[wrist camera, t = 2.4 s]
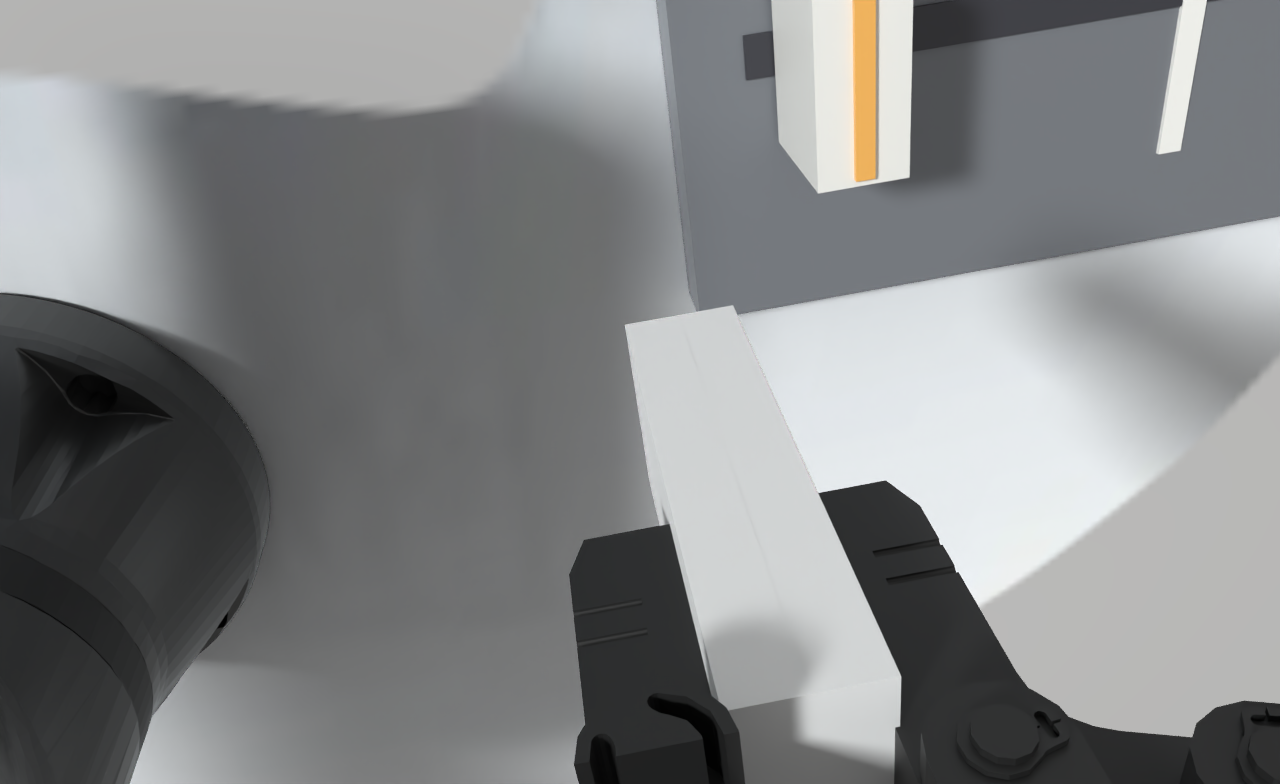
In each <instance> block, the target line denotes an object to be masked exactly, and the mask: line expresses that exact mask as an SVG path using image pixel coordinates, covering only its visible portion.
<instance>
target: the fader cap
mask: <svg viewBox="0 0 1280 784" xmlns="http://www.w3.org/2000/svg"><path fill="white" fill-rule="evenodd" d="M771 3H772V22H773V41H774V60H775V78H776V97H777V116H778V135H779V143H780V144H781V146H782V147H783V148H784V150H785V151H786V152H787V154H788V155H789V156H790V157H791V159H792V160H793V161H794V163H795V164H796V165H797V167H798V168H799V169H800V171H801V172H802V173H803V174H804V176H805V177H806V178H807V180H808V181H809V182H810V184H811V185H812V186H813V187H814V189H815V190H816V191H817V193H818V194H819V193H824V192H830V191H836V190H841V189H847V188H853V187H858V186H864V185H870V184H875V183H881V182H887V181H892V180H898V179H904V178H909V176H910V130H911V83H912V36H913V0H771Z"/></svg>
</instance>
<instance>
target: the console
mask: <svg viewBox="0 0 1280 784" xmlns="http://www.w3.org/2000/svg"><path fill="white" fill-rule="evenodd" d="M656 4H657V13H658V21H659V30H660V39H661V48H662V56H663V65H664V74H665V83H666V92H667V100H668V109H669V118H670V127H671V135H672V144H673V153H674V162H675V171H676V179H677V188H678V197H679V206H680V214H681V223H682V232H683V241H684V249H685V258H686V267H687V276H688V285H689V293H690V295H691V298H692V301H693V303H694V306H695V308H696V311H697V312H698V311H704V310H709V309H715V308H720V307H726V306H731V305H733V306H734V309H735V311H736V313H737V314H742V313H748V312H753V311H759V310H764V309H770V308H776V307H781V306H787V305H792V304H798V303H803V302H809V301H814V300H820V299H825V298H831V297H836V296H842V295H847V294H853V293H858V292H864V291H869V290H875V289H881V288H886V287H892V286H897V285H903V284H908V283H914V282H919V281H925V280H930V279H936V278H941V277H947V276H952V275H958V274H963V273H969V272H974V271H980V270H985V269H991V268H997V267H1002V266H1008V265H1013V264H1019V263H1024V262H1030V261H1035V260H1041V259H1046V258H1052V257H1057V256H1063V255H1068V254H1074V253H1079V252H1085V251H1090V250H1096V249H1101V248H1107V247H1113V246H1118V245H1124V244H1129V243H1135V242H1140V241H1146V240H1151V239H1157V238H1162V237H1168V236H1173V235H1179V234H1184V233H1190V232H1195V231H1201V230H1206V229H1212V228H1218V227H1223V226H1229V225H1234V224H1240V223H1245V222H1251V221H1256V220H1262V219H1267V218H1273V217H1278V216H1280V0H913V36H912V83H911V130H910V176H909V178H904V179H898V180H892V181H887V182H881V183H875V184H870V185H864V186H858V187H853V188H847V189H841V190H836V191H830V192H824V193H819V194H818V193H817V191H816V190H815V189H814V187H813V186H812V185H811V184H810V182H809V181H808V180H807V178H806V177H805V176H804V174H803V173H802V172H801V171H800V169H799V168H798V167H797V165H796V164H795V163H794V161H793V160H792V159H791V157H790V156H789V155H788V154H787V152H786V151H785V150H784V148H783V147H782V146H781V144H780V143H779V135H778V116H777V97H776V78H775V60H774V41H773V22H772V3H771V0H656Z"/></svg>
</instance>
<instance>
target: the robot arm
mask: <svg viewBox="0 0 1280 784" xmlns="http://www.w3.org/2000/svg"><path fill="white" fill-rule="evenodd" d="M625 330H626V336H627V342H628V349H629V355H630V361H631V368H632V374H633V381H634V387H635V393H636V400H637V406H638V412H639V419H640V425H641V431H642V438H643V444H644V450H645V457H646V463H647V469H648V476H649V482H650V486H651V490H652V495H653V499H654V503H655V508H656V512H657V516H658V521H659V525H660V526H656V527H651V528H646V529H640V530H635V531H630V532H624V533H619V534H614V535H608V536H603V537H598V538H592V539H587V540H584V541H583V544H582V546H581V548H580V551H579V553H578V556H577V558H576V560H575V563H574V565H573V567H572V570H571V572H570V574H569V576H570V585H571V595H572V604H573V612H574V622H575V632H576V641H577V647H578V648H577V650H578V660H579V669H580V678H581V688H582V697H583V706H584V716H585V726H584V727H583V729H582V731H581V732H580V734H579V736H578V739H577V746H576V754H575V761H574V766H575V770H576V774H577V778H578V781H579V784H1280V704H1275V703H1264V702H1252V701H1241V702H1237V703H1233V704H1229V705H1225V706H1221V707H1217V708H1215V709H1214V710H1212V711H1211V712H1210V713H1209V714H1207V715H1206V716H1205V717H1204V718H1203V719H1201V720H1200V721H1199V722H1198V723H1197V724H1196V727H1195V731H1194V734H1193V737H1191V738H1190V737H1181V736H1169V735H1158V734H1147V733H1135V732H1125V731H1117V730H1112V729H1106V728H1100V727H1095V726H1092V725H1089V724H1086V723H1083V722H1081V721H1078V720H1075V719H1073V718H1070V717H1068V716H1067V715H1066V714H1065V712H1064V711H1063V710H1062V709H1061V708H1060V707H1059V706H1058V705H1057V704H1055V703H1053V702H1051V701H1050V700H1048V699H1046V698H1045V697H1043V696H1042V695H1040V694H1038V693H1036V692H1035V691H1033V690H1031V689H1029V688H1028V687H1027V686H1026V684H1025V683H1024V682H1023V680H1022V679H1021V678H1020V676H1019V675H1018V674H1017V672H1016V671H1015V669H1014V667H1013V666H1012V664H1011V662H1010V660H1009V659H1008V657H1007V655H1006V654H1005V652H1004V650H1003V648H1002V647H1001V645H1000V643H999V641H998V640H997V638H996V636H995V635H994V633H993V631H992V629H991V628H990V626H989V624H988V622H987V621H986V619H985V617H984V616H983V614H982V612H981V610H980V609H979V607H978V605H977V603H976V602H975V600H974V598H973V597H972V595H971V593H970V591H969V590H968V588H967V586H966V585H965V583H964V581H963V579H962V578H961V576H960V574H959V572H957V573H956V571H955V567H954V564H953V562H952V560H951V559H950V557H949V555H948V553H947V552H946V550H945V548H944V547H943V545H940V543H939V538H938V536H937V535H936V533H935V531H934V529H933V528H932V526H931V524H930V522H929V521H928V519H927V517H926V516H925V514H924V512H923V510H922V509H921V507H920V505H918V504H917V503H915V502H914V501H913V500H911V499H910V498H909V497H907V496H906V495H905V494H903V493H902V492H901V491H899V490H898V489H897V488H895V487H894V486H892V485H891V484H890V483H888V482H887V481H881V482H875V483H870V484H865V485H859V486H854V487H849V488H844V489H838V490H833V491H828V492H822V493H818V492H817V489H816V487H815V485H814V483H813V481H812V478H811V476H810V474H809V472H808V470H807V467H806V465H805V463H804V461H803V459H802V456H801V454H800V452H799V450H798V448H797V445H796V443H795V441H794V439H793V436H792V434H791V432H790V430H789V428H788V425H787V423H786V421H785V419H784V417H783V414H782V412H781V410H780V408H779V406H778V403H777V401H776V399H775V397H774V395H773V392H772V390H771V388H770V386H769V384H768V381H767V379H766V377H765V375H764V373H763V370H762V368H761V366H760V364H759V362H758V359H757V357H756V355H755V353H754V350H753V348H752V346H751V344H750V342H749V339H748V337H747V335H746V333H745V331H744V328H743V326H742V324H741V322H740V320H739V317H738V315H737V313H736V311H735V309H734V306H733V305H731V306H726V307H720V308H715V309H709V310H704V311H698V312H692V313H687V314H681V315H676V316H670V317H665V318H659V319H653V320H648V321H642V322H637V323H631V324H625ZM269 517H270V496H269V487H268V481H267V476H266V472H265V469H264V465H263V462H262V460H261V457H260V454H259V452H258V449H257V447H256V445H255V443H254V441H253V439H252V437H251V435H250V434H249V432H248V430H247V428H246V427H245V425H244V424H243V422H242V421H241V419H240V418H239V416H238V415H237V413H236V412H235V411H234V410H233V408H232V407H231V406H230V405H229V403H228V402H227V401H226V400H225V399H224V398H223V396H222V395H221V394H220V393H219V392H218V391H217V390H216V389H215V388H214V387H213V386H212V385H211V384H210V383H209V382H208V381H207V380H206V379H205V378H204V377H202V376H201V375H200V374H199V373H198V372H196V371H195V370H194V369H193V368H192V367H190V366H189V365H188V364H187V363H185V362H184V361H183V360H181V359H180V358H178V357H177V356H176V355H174V354H173V353H171V352H170V351H168V350H167V349H165V348H163V347H162V346H160V345H159V344H157V343H155V342H154V341H152V340H150V339H148V338H146V337H145V336H143V335H141V334H139V333H137V332H135V331H133V330H131V329H129V328H127V327H125V326H123V325H120V324H118V323H116V322H113V321H111V320H108V319H106V318H104V317H101V316H98V315H95V314H92V313H89V312H87V311H84V310H80V309H77V308H74V307H70V306H67V305H63V304H59V303H54V302H50V301H46V300H41V299H35V298H29V297H23V296H14V295H5V294H0V784H130V781H131V778H132V775H133V772H134V769H135V766H136V763H137V760H138V757H139V754H140V751H141V748H142V745H143V742H144V739H145V737H146V734H147V731H148V727H149V724H150V721H151V718H152V716H153V714H154V713H155V712H156V711H157V709H158V708H159V707H160V706H161V704H162V703H163V702H164V700H165V699H166V698H167V697H168V695H169V694H170V693H171V691H172V690H173V688H174V687H175V685H176V684H177V682H178V681H179V679H180V678H181V676H182V675H183V674H184V672H185V671H186V670H187V669H188V667H189V666H190V665H191V663H192V662H193V661H194V659H195V658H196V657H197V655H198V654H199V653H201V652H202V651H203V650H204V649H205V648H207V647H208V646H209V645H210V644H211V643H212V642H213V641H214V640H215V639H216V638H217V637H218V636H219V635H220V634H221V632H222V631H223V630H224V629H225V628H226V627H227V625H228V624H229V623H230V622H231V621H232V619H233V618H234V616H235V615H236V614H237V612H238V611H239V609H240V607H241V606H242V604H243V602H244V600H245V598H246V596H247V594H248V592H249V590H250V588H251V586H252V584H253V581H254V578H255V575H256V572H257V568H258V565H259V561H260V557H261V554H262V550H263V546H264V543H265V539H266V535H267V530H268V525H269Z"/></svg>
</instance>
